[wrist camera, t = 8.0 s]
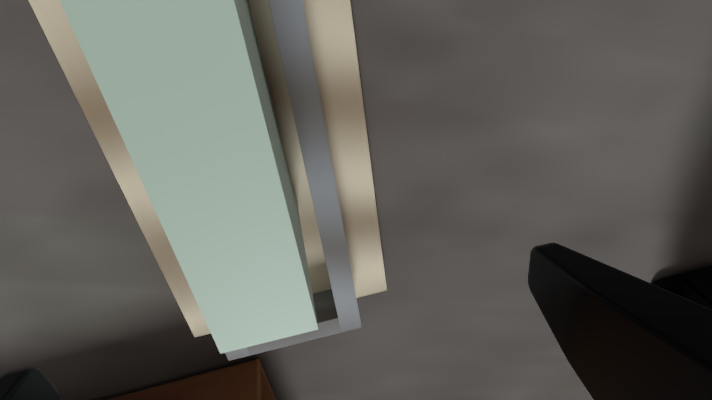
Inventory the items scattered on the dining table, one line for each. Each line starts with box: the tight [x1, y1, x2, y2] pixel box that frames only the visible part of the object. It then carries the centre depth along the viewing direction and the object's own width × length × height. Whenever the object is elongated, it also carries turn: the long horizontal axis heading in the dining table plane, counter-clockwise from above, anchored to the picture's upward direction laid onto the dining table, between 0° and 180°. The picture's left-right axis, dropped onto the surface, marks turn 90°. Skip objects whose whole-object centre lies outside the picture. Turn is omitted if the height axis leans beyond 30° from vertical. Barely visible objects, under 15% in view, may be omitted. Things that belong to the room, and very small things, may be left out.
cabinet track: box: [29, 0, 387, 361], centre depth 16 cm, size 22×10×3 cm, turn 8°
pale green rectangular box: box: [59, 0, 318, 354], centre depth 13 cm, size 10×3×7 cm, turn 7°
